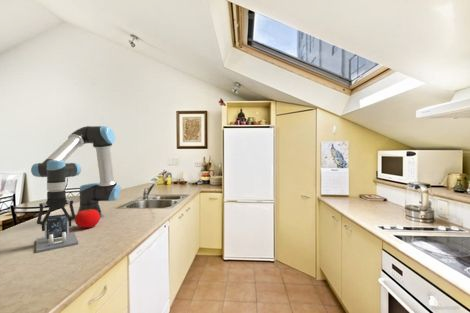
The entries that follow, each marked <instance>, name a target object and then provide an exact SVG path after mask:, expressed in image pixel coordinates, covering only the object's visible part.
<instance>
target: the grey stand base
mask: <svg viewBox="0 0 470 313" xmlns="http://www.w3.org/2000/svg"><path fill="white" fill-rule="evenodd" d="M35 245H36V247H35V248H36V249H35V252H36V254H39V253H43V252H47V251H51V250H58V249H62V248H67V247H71V246H77V245H79V240H78V239H77V235H76V233H75V231H72V232H70V231H69V234H66V232H63V233H62V237H59V238H53V234H50V235H49V239H47V238H45V236H43V237H37V238H36V244H35Z"/></svg>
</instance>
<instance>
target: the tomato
mask: <svg viewBox="0 0 470 313" xmlns="http://www.w3.org/2000/svg"><path fill="white" fill-rule="evenodd" d="M77 212H78V211H77ZM75 217H76V218H75V219H74V223H75V224H76V225H77V226H78V227H80V228H83V229H85V228H86V229H89V228H93V227H96V225H97V224H98V223H99V222H100V219H101V215H100V214H99V212H98V211H97V210H94V209H88V210H83V211H80V212H78V214H77V213H76V215H75Z"/></svg>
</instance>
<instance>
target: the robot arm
mask: <svg viewBox="0 0 470 313" xmlns="http://www.w3.org/2000/svg"><path fill="white" fill-rule="evenodd" d="M115 141H116V135H115V132H114V130H113V129H112V127H110V126H104V125H96V126H94V125H93V126H92V125H91V126H90V125H87V126H83V127H80V128H77V129H76V130H75V131H73V132H72V133H70V134H69V135H68V136H67V139H66V140H65V141H64V142H63V143H62V144H61V145H59V147H58V148H57V149H56V150H54V151H53V152H52V153H51V154H50V155H49V156H48V157H47V158H46V159H45V160H43V161H42V162H39V163H38V162H37V163H34V164H33V165H32V166H31V168H30V172H31V174H32V176H34V177H37V178H46V191H47V192H46V198H47V199H46V201H45V202H40V203H39V211H38V217H37V220H36V224H37V225H40V226H41V232H44V237H45V238H47V218H48V217H49V216H51V213H52V211H53V210H59V209H61V210H62V212H63V213H64V214H65V215H66V217H67V234H69V233H70V227H72V221H73V220H75V218H76V215H77V214H78V212H80V211H83V210H88V209H94V210H97V211H98V212H99V214H100V216H101V215H102V210H101V207H100V204H99V202H114V201H116V200H118V199H119V197H120V195H121V189H122V188H121V186H120V184H117V181H116V180H115V179H114V178H115V177H114V171H113V163H112V155H111V154H112V153H111V147H112V146H113V144H114V143H115ZM85 144H92V147H93V148H94V149H95V150H96V159H97V167H98V175H99V182H94V183H93V182H92V183H87V184H83V185H82V184H81V185H80V187H79V207H78V209H77V213H76V215H75V209H74V201H73V199H70V200H69V199H67V198H66V197H67V195H66V184H67V183H66V178H71V177H76V176H79V175H80V174H81V172H82V166H81V165H80V163H77V162H66V161H67V160H68V159H69V158H70V156H71V155H72V154H73V153H75V152H76V151H77V149H79V148H81V147H82V146H84V145H85ZM66 204H67V205H69V209H70V213H71V216H70V215H69V213H68V211H67V209H66V208H65V205H66ZM46 206H48V209H47V212H46V214H45V215H44V217H43V212H44V208H45V207H46ZM42 217H43V219H42Z"/></svg>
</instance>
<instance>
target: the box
mask: <svg viewBox="0 0 470 313" xmlns="http://www.w3.org/2000/svg"><path fill="white" fill-rule="evenodd" d="M67 220H68V218H67V217H66V215H65V213H64V214H56V215H49V217H48V218H47V221H46V223H47V239H49V235H50V234H53V238H59V237H62V233H63V232H66V234H67Z"/></svg>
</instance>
